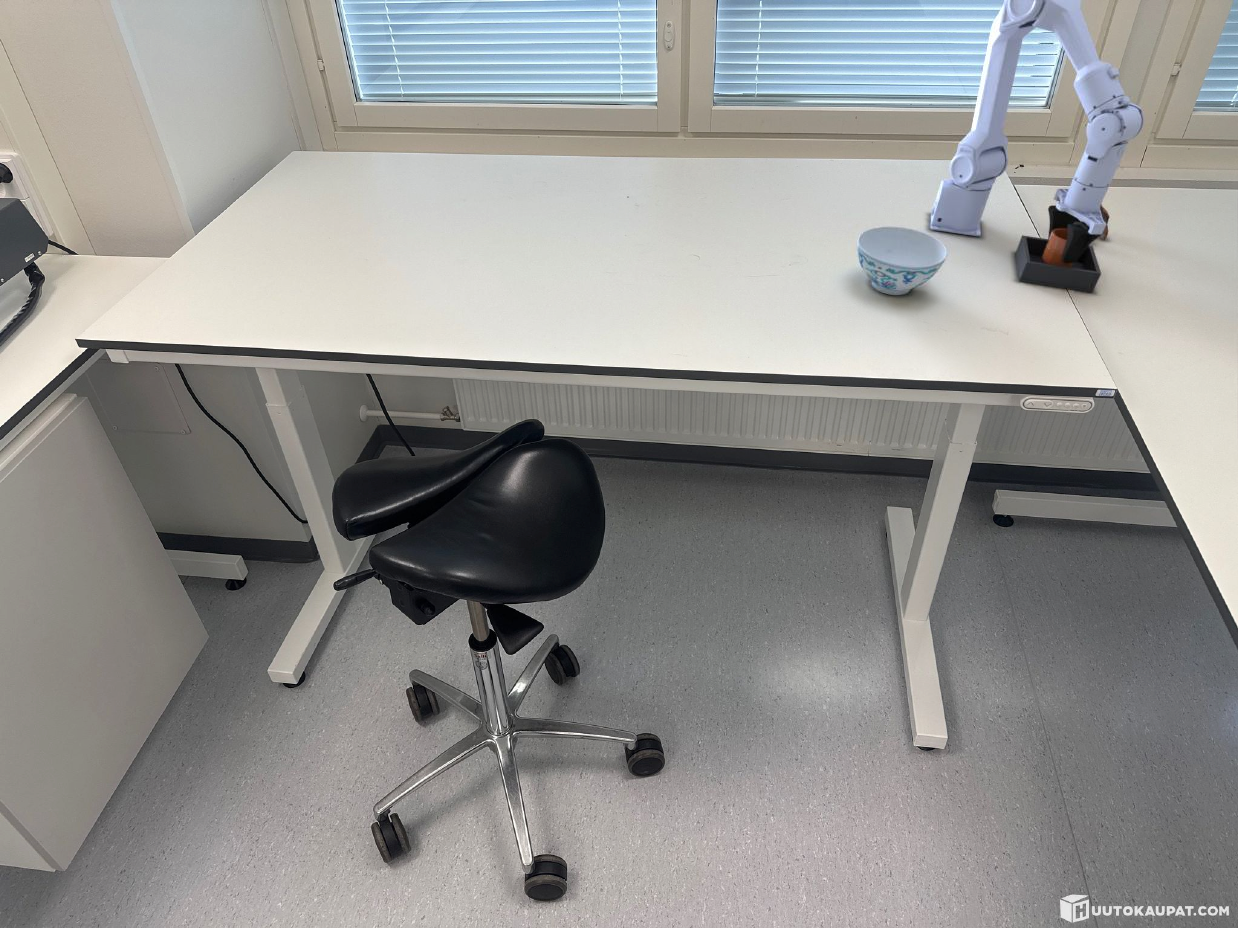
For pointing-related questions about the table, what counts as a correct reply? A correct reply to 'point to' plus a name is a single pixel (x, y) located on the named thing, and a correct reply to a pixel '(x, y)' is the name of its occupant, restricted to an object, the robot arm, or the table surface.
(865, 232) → the chinaware
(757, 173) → the table surface
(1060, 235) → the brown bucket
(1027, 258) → the tray
